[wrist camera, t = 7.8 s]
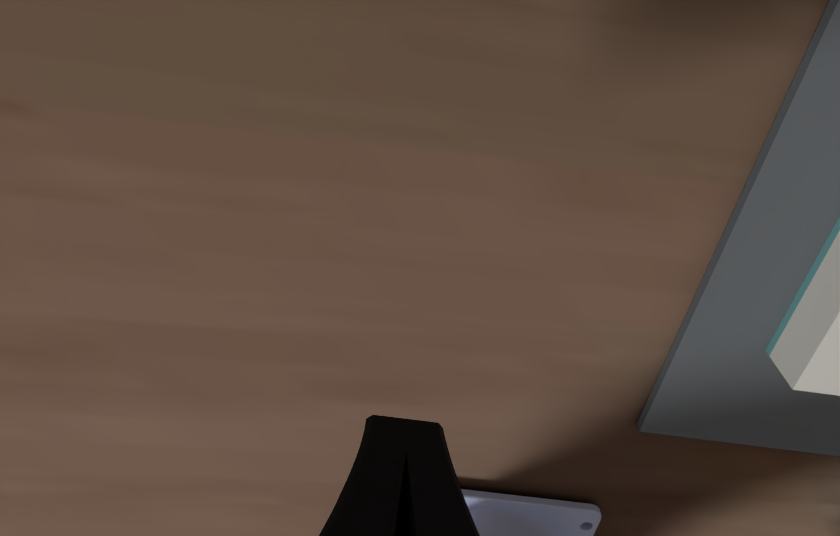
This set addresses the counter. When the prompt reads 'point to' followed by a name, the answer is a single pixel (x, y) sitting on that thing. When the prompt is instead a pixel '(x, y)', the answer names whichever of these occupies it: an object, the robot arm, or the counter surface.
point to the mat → (763, 282)
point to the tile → (813, 327)
